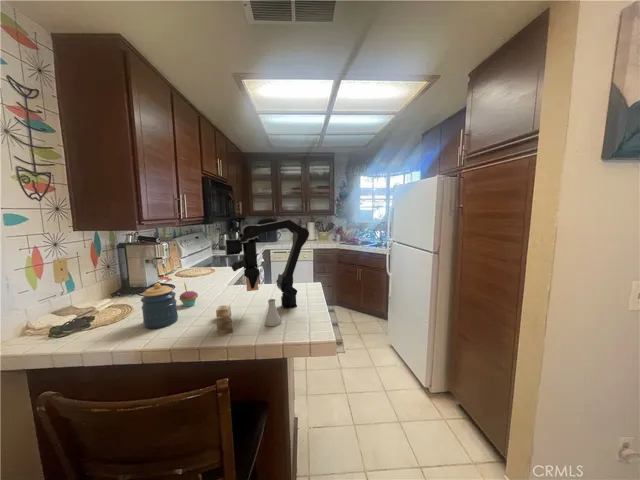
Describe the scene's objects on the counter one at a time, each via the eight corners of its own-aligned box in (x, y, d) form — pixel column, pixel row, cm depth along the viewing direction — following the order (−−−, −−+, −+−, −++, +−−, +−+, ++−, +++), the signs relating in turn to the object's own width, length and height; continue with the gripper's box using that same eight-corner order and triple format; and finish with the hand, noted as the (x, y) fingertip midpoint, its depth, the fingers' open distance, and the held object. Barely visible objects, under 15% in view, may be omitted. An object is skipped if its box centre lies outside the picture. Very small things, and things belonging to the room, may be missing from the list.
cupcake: (176, 307, 134) (173, 284, 132) (190, 301, 142) (188, 279, 140) (188, 309, 130) (186, 285, 129) (202, 303, 138) (200, 280, 137)
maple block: (231, 315, 121) (230, 305, 120) (228, 320, 116) (227, 309, 115) (219, 316, 120) (219, 305, 120) (216, 321, 115) (215, 310, 115)
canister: (158, 331, 107) (153, 289, 105) (136, 327, 112) (131, 286, 110) (185, 318, 119) (181, 280, 117) (163, 315, 124) (159, 278, 122)
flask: (278, 327, 107) (276, 303, 106) (261, 326, 109) (259, 302, 107) (284, 319, 114) (282, 297, 113) (268, 319, 116) (266, 296, 114)
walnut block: (229, 327, 109) (228, 316, 108) (232, 332, 104) (231, 320, 104) (217, 331, 106) (215, 319, 105) (219, 336, 102) (218, 323, 101)
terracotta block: (257, 286, 124) (257, 276, 124) (258, 289, 120) (257, 279, 119) (246, 288, 123) (245, 277, 122) (246, 291, 118) (246, 280, 118)
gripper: (231, 251, 126) (234, 283, 128) (230, 258, 108) (233, 295, 110) (255, 249, 129) (257, 280, 131) (258, 255, 111) (260, 292, 113)
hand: (252, 286), depth 121 cm, fingers closed on terracotta block, 5 cm apart
